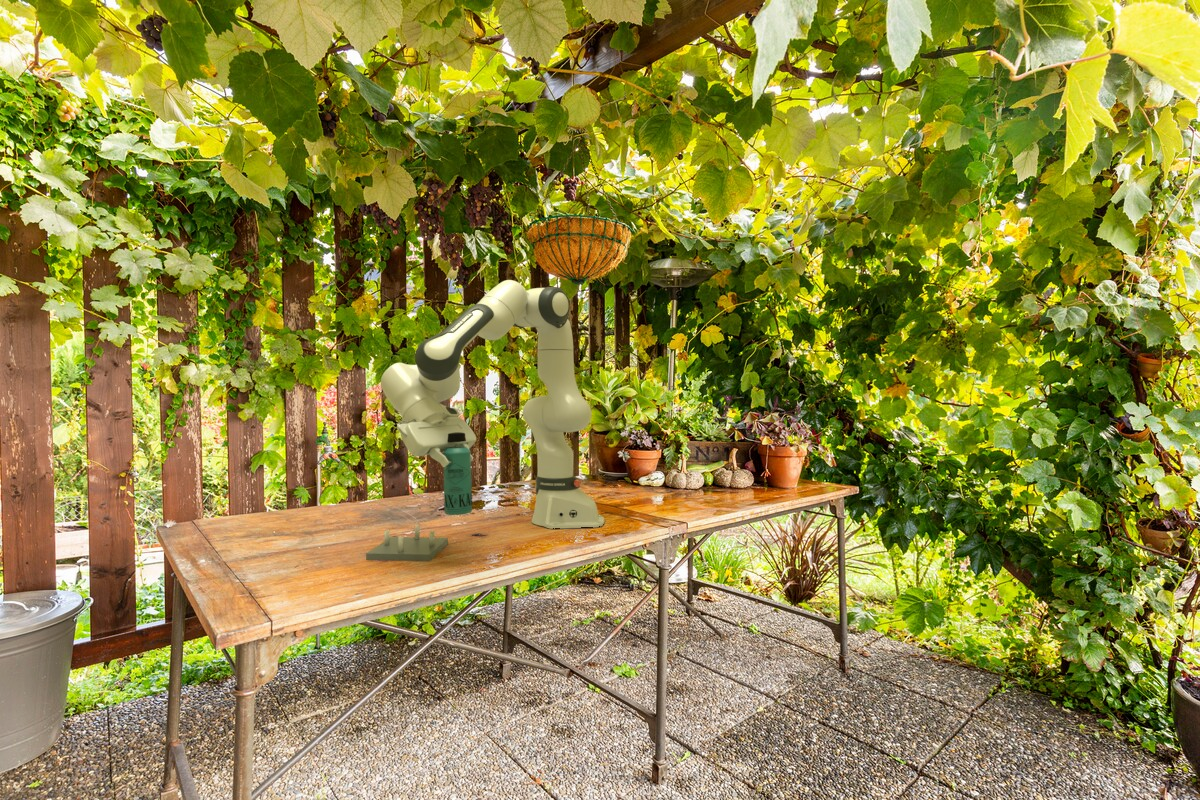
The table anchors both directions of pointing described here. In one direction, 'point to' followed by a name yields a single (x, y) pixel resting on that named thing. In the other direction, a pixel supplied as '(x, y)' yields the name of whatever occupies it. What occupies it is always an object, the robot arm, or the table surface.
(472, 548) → the table surface
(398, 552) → the pin plate
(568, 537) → the table surface
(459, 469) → the beverage bottle
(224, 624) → the table surface
